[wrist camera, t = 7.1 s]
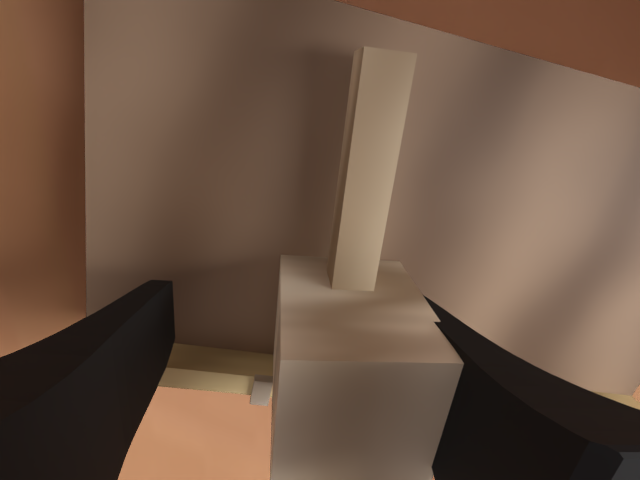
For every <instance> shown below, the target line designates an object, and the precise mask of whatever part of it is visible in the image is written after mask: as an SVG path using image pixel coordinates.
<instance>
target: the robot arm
mask: <svg viewBox="0 0 640 480" xmlns="http://www.w3.org/2000/svg"><path fill="white" fill-rule="evenodd" d="M423 296H424V295H423ZM424 298H425V299H426V301H427V302H428V304H429V305H430V307H431V308H432V310H433V311H434V313H435V314H436V315H437V317H438V318H439V320H440V321H441V322H434V323H435V324H436V325H437V327H438V328H439V329H440V331H441V332H442V333H443V334H444V336H445V337H446V338H447V340H448V341H449V342H450V344H451V345H452V346H453V348H454V349H455V351H456V352H457V353H458V355H459V356H460V358H461V360H462V361H463V363H464V365H463V368H462V371H461V375H460V378H459V381H458V384H457V387H456V391H455V394H454V397H453V400H452V403H451V407H450V410H449V413H448V416H447V419H446V422H445V426H444V429H443V432H442V435H441V438H440V442H439V445H438V448H437V451H436V454H435V458H434V461H433V464H432V471H433V474H434V478H435V480H640V410H639V409H636V408H633V407H630V406H628V405H625V404H622V403H620V402H617V401H614V400H612V399H609V398H606V397H604V396H601V395H599V394H596V393H594V392H591V391H589V390H586V389H584V388H582V387H579V386H577V385H575V384H572V383H570V382H568V381H566V380H564V379H561V378H559V377H557V376H555V375H553V374H550V373H548V372H546V371H544V370H542V369H540V368H538V367H536V366H534V365H532V364H531V363H529V362H527V361H525V360H523V359H521V358H519V357H517V356H516V355H514V354H512V353H510V352H508V351H507V350H505V349H503V348H502V347H500V346H498V345H497V344H495V343H494V342H492V341H490V340H489V339H487V338H486V337H484V336H482V335H481V334H479V333H478V332H476V331H475V330H473V329H472V328H470V327H469V326H467V325H466V324H464V323H463V322H462V321H460V320H459V319H457V318H456V317H454V316H453V315H452V314H450V313H449V312H447V311H446V310H444V309H443V308H442V307H440V306H439V305H437V304H436V303H434V302H433V301H432V300H430V299H428V298H427V297H425V296H424ZM174 341H175V321H174V301H173V281H168V280H149V281H147V282H145V283H144V284H142V285H140V286H138V287H137V288H135V289H133V290H132V291H130V292H128V293H127V294H125V295H124V296H122V297H120V298H119V299H117V300H115V301H114V302H112V303H110V304H109V305H107V306H105V307H104V308H102V309H100V310H98V311H97V312H95V313H93V314H91V315H89V316H88V317H86V318H84V319H82V320H80V321H78V322H76V323H75V324H73V325H71V326H69V327H67V328H65V329H64V330H62V331H60V332H58V333H56V334H54V335H51V336H49V337H47V338H45V339H43V340H41V341H39V342H36V343H34V344H32V345H30V346H27V347H25V348H23V349H21V350H18V351H16V352H13V353H11V354H8V355H6V356H3V357H0V480H117V479H118V476H119V474H120V471H121V468H122V465H123V462H124V459H125V457H126V454H127V452H128V449H129V447H130V445H131V442H132V440H133V438H134V435H135V433H136V431H137V429H138V427H139V425H140V423H141V421H142V418H143V416H144V414H145V412H146V410H147V408H148V406H149V404H150V402H151V399H152V397H153V395H154V393H155V391H156V389H157V387H158V384H159V382H160V380H161V378H162V376H163V374H164V371H165V369H166V366H167V363H168V360H169V357H170V354H171V351H172V347H173V344H174Z"/></svg>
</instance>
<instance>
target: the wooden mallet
mask: <svg viewBox="0 0 640 480" xmlns="http://www.w3.org/2000/svg"><path fill="white" fill-rule="evenodd" d="M416 59H417V53H410V52H403V51H395V50H388V49H380V48H373V47H365V46H364V47H362V48H360V49H358V50H356V51H354V56H353V64H352V72H351V80H350V88H349V96H348V103H347V111H346V119H345V127H344V135H343V143H342V151H341V159H340V167H339V175H338V183H337V191H336V199H335V207H334V215H333V223H332V231H331V239H330V247H329V255H328V257H313V256H295V255H281V257H280V270H279V284H278V298H277V312H276V325H275V339H274V353H273V387H272V423H271V460H270V480H432V478H433V475H434V474H433V471H432V464H433V461H434V458H435V454H436V451H437V448H438V445H439V442H440V438H441V435H442V432H443V429H444V426H445V422H446V419H447V416H448V413H449V410H450V407H451V403H452V400H453V397H454V394H455V391H456V387H457V384H458V381H459V378H460V375H461V371H462V368H463V365H464V363H463V361H462V360H461V358H460V356H459V355H458V353H457V352H456V351H455V349H454V348H453V346H452V345H451V344H450V342H449V341H448V340H447V338H446V337H445V336H444V334H443V333H442V332H441V331H440V329H439V328H438V327H437V325H436V324H435V323H434V322H441V321H440V320H439V318H438V317H437V315H436V314H435V313H434V311H433V310H432V308H431V307H430V305H429V304H428V302H427V301H426V299H425V298H424V296H423V295H422V293H421V292H420V290H419V289H418V287H417V286H416V285H415V283H414V282H413V280H412V279H411V277H410V276H409V274H408V273H407V271H406V270H405V268H404V267H403V265H402V264H401V262H400V261H384V260H380V255H381V249H382V244H383V238H384V233H385V228H386V222H387V217H388V211H389V206H390V200H391V195H392V189H393V184H394V179H395V173H396V168H397V162H398V157H399V151H400V146H401V140H402V135H403V129H404V124H405V119H406V113H407V108H408V102H409V97H410V91H411V86H412V80H413V75H414V70H415V64H416Z"/></svg>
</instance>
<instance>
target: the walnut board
mask: <svg viewBox="0 0 640 480" xmlns="http://www.w3.org/2000/svg"><path fill="white" fill-rule="evenodd" d="M364 46H365V47H373V48H380V49H388V50H395V51H403V52H410V53H417V59H416V64H415V70H414V75H413V80H412V86H411V91H410V97H409V102H408V108H407V113H406V119H405V124H404V129H403V135H402V140H401V146H400V151H399V157H398V162H397V168H396V173H395V179H394V184H393V189H392V195H391V200H390V206H389V211H388V217H387V222H386V228H385V233H384V238H383V244H382V249H381V255H380V260H384V261H400V262H401V264H402V265H403V267H404V268H405V270H406V271H407V273H408V274H409V276H410V277H411V279H412V280H413V282H414V283H415V285H416V286H417V287H418V289H419V290H420V292H421V293H422V295H424V296H425V297H427V298H428V299H430V300H432V301H433V302H434V303H436V304H437V305H439V306H440V307H442V308H443V309H444V310H446V311H447V312H449V313H450V314H452V315H453V316H454V317H456V318H457V319H459V320H460V321H462V322H463V323H464V324H466V325H467V326H469V327H470V328H472V329H473V330H475V331H476V332H478V333H479V334H481V335H482V336H484V337H486V338H487V339H489V340H490V341H492V342H494V343H495V344H497V345H498V346H500V347H502V348H503V349H505V350H507V351H508V352H510V353H512V354H514V355H516V356H517V357H519V358H521V359H523V360H525V361H527V362H529V363H531V364H532V365H534V366H536V367H538V368H540V369H542V370H544V371H546V372H548V373H550V374H553V375H555V376H557V377H559V378H561V379H564V380H566V381H568V382H570V383H572V384H575V385H577V386H579V387H582V388H584V389H586V390H589V391H591V392H594V393H596V394H599V395H601V396H604V397H606V398H609V399H612V400H614V401H617V402H620V403H622V404H625V405H628V406H630V407H633V408H636V409H639V410H640V403H639V402H638V401H637V400H636V399H635V398H634V397H633V396H632V395H633V393H634V392H635V390H636V389H637V387H638V386H639V384H640V88H639V87H636V86H632V85H629V84H625V83H622V82H618V81H615V80H611V79H608V78H604V77H601V76H597V75H594V74H590V73H587V72H583V71H580V70H576V69H573V68H569V67H566V66H562V65H559V64H555V63H552V62H548V61H545V60H541V59H538V58H534V57H531V56H527V55H524V54H520V53H517V52H513V51H510V50H506V49H503V48H499V47H496V46H492V45H489V44H485V43H482V42H478V41H475V40H471V39H468V38H464V37H461V36H457V35H454V34H450V33H447V32H443V31H440V30H436V29H433V28H429V27H426V26H422V25H419V24H415V23H412V22H408V21H405V20H401V19H398V18H394V17H391V16H387V15H384V14H380V13H377V12H373V11H370V10H366V9H363V8H359V7H356V6H352V5H349V4H345V3H342V2H338V1H335V0H84V81H85V209H86V317H88V316H89V315H91V314H93V313H95V312H97V311H98V310H100V309H102V308H104V307H105V306H107V305H109V304H110V303H112V302H114V301H115V300H117V299H119V298H120V297H122V296H124V295H125V294H127V293H128V292H130V291H132V290H133V289H135V288H137V287H138V286H140V285H142V284H144V283H145V282H147V281H149V280H168V281H173V301H174V321H175V341H174V344H173V347H172V351H171V354H170V357H169V360H168V363H167V366H166V369H165V371H164V374H163V376H162V378H161V380H160V382H159V384H158V386H162V387H172V388H183V389H193V390H204V391H214V392H224V393H235V394H245V395H251V398H250V404H252V405H263V406H268V403H269V398H270V397H272V387H273V353H274V339H275V325H276V312H277V298H278V284H279V270H280V257H281V255H295V256H313V257H328V255H329V247H330V239H331V231H332V223H333V215H334V207H335V199H336V191H337V183H338V175H339V167H340V159H341V151H342V143H343V135H344V127H345V119H346V111H347V103H348V96H349V88H350V80H351V72H352V64H353V56H354V51H356V50H358V49H360V48H362V47H364Z"/></svg>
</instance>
